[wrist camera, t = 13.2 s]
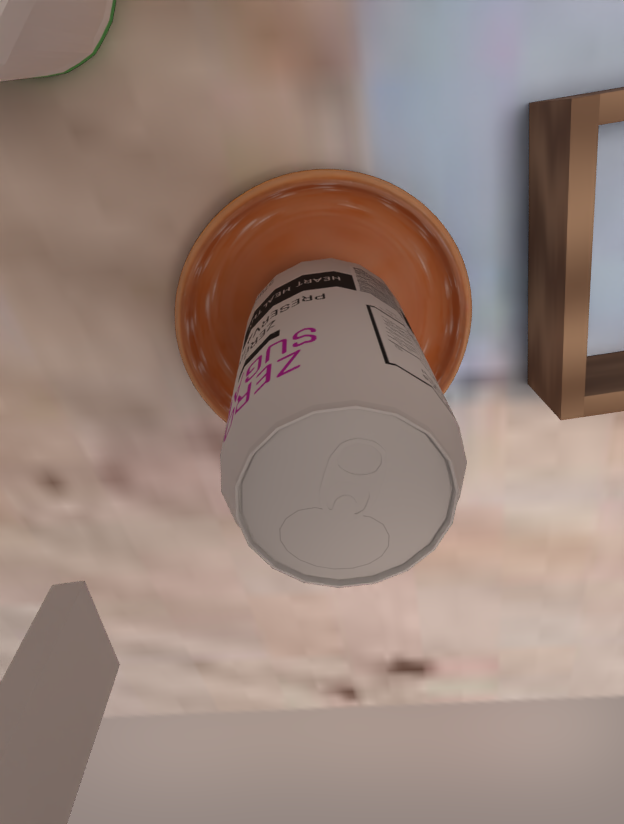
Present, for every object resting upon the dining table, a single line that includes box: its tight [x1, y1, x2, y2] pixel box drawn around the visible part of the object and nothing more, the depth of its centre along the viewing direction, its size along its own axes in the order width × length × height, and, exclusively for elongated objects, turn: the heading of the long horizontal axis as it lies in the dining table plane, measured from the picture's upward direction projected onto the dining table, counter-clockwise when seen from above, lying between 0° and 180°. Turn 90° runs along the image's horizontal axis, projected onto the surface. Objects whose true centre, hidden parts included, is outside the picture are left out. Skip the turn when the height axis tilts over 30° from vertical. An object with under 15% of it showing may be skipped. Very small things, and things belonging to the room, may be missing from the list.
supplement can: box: [220, 258, 467, 588], centre depth 25 cm, size 8×8×15 cm
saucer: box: [175, 169, 472, 423], centre depth 33 cm, size 16×16×3 cm
